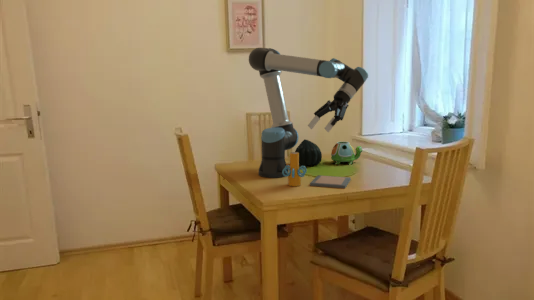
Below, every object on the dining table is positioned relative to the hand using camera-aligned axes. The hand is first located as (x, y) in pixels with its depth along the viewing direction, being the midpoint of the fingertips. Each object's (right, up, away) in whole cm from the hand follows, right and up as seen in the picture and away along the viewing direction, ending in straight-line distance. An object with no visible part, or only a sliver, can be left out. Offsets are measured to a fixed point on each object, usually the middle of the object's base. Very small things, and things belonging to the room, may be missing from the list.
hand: (317, 128), depth 196 cm
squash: (0, -18, +42) cm, 46 cm away
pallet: (+6, -25, +2) cm, 26 cm away
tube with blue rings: (-11, -26, -1) cm, 28 cm away
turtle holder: (+21, -17, +47) cm, 54 cm away
